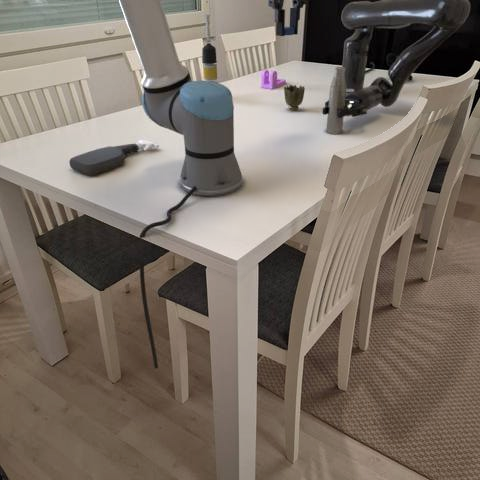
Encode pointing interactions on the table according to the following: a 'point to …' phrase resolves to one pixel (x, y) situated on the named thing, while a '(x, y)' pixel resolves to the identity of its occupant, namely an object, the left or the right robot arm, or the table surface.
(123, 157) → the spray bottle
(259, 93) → the table surface
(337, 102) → the bottle
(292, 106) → the cup
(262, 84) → the bracket
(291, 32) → the cap
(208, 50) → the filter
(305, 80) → the table surface
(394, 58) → the squiggle
